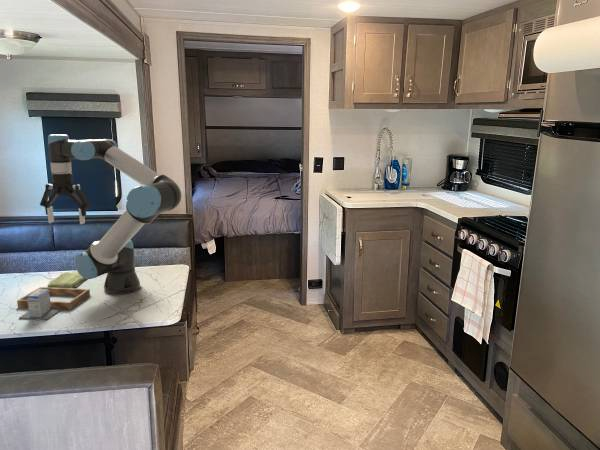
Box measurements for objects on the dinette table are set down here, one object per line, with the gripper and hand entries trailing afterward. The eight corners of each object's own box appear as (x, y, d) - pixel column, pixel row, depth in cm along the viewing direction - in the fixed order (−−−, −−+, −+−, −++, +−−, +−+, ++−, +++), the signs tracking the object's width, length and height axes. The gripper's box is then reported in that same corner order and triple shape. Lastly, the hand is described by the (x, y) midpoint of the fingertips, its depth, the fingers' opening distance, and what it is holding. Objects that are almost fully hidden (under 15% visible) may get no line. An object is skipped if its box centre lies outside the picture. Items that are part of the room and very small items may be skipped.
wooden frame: (90, 295, 193) (89, 289, 192) (70, 309, 178) (70, 302, 178) (41, 293, 194) (40, 287, 194) (17, 307, 180) (17, 300, 179)
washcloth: (91, 277, 217) (91, 270, 216) (74, 290, 200) (74, 283, 199) (64, 276, 216) (63, 270, 216) (45, 290, 199) (44, 283, 198)
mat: (60, 310, 178) (60, 309, 178) (47, 320, 169) (46, 318, 169) (34, 309, 178) (34, 307, 178) (19, 319, 170) (19, 317, 169)
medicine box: (40, 309, 177) (37, 288, 175) (51, 309, 177) (49, 288, 176) (29, 317, 170) (26, 296, 168) (41, 317, 170) (38, 296, 168)
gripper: (96, 172, 186) (100, 222, 191) (38, 170, 187) (43, 220, 192) (86, 174, 179) (91, 226, 183) (26, 172, 180) (32, 224, 185)
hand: (67, 223), depth 188 cm, fingers open, 13 cm apart
